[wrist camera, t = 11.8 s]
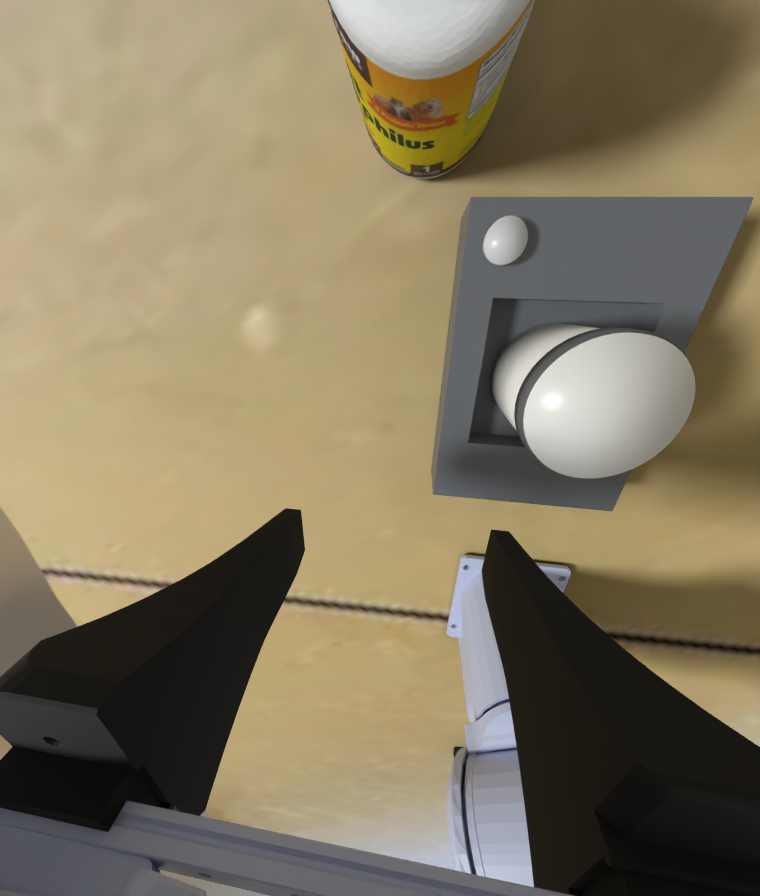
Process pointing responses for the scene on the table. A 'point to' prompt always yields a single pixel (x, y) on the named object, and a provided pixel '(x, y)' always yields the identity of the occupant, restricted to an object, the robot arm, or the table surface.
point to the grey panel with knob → (563, 315)
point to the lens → (593, 396)
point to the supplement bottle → (428, 73)
